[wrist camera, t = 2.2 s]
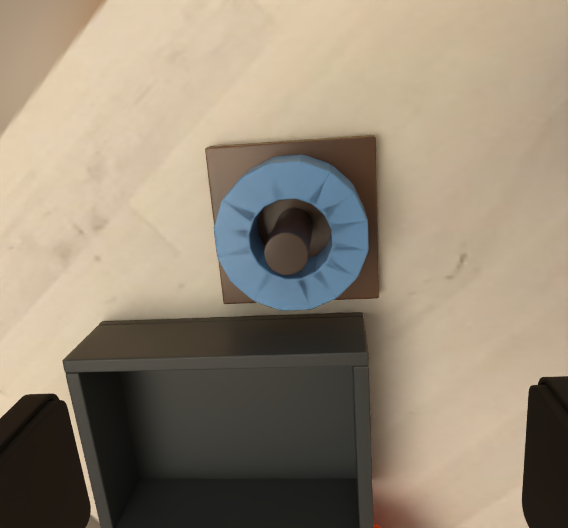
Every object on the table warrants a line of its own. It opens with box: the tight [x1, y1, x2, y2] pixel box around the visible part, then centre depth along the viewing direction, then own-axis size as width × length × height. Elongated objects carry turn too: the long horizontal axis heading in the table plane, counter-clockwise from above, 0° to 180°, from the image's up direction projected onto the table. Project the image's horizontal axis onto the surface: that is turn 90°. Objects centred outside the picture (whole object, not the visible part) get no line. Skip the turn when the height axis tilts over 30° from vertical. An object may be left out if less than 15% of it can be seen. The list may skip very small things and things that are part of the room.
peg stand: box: [205, 135, 379, 304], centre depth 23 cm, size 8×8×6 cm
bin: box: [63, 313, 374, 528], centre depth 28 cm, size 11×14×4 cm
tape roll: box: [214, 155, 369, 311], centre depth 24 cm, size 7×7×3 cm
